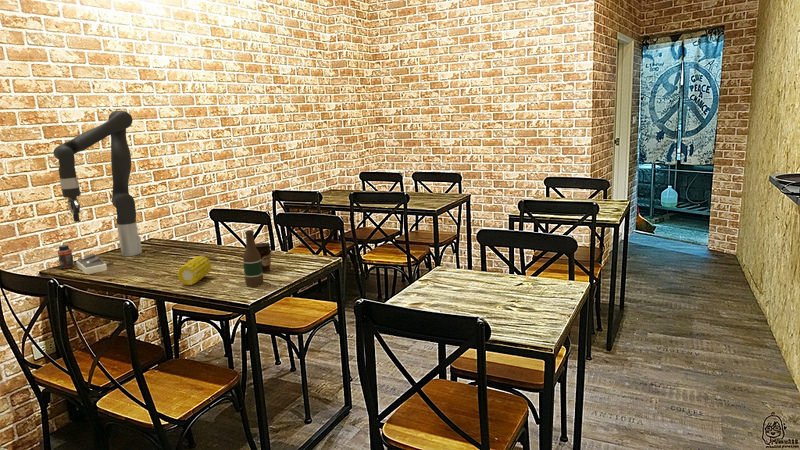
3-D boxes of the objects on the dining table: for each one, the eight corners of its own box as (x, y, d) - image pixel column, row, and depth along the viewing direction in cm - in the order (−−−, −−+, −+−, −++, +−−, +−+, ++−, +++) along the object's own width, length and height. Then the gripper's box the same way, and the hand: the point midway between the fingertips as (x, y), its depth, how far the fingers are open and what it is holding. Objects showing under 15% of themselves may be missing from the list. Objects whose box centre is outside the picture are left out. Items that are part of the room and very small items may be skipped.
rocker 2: (98, 258, 261) (97, 256, 260) (101, 260, 258) (99, 257, 257) (86, 264, 258) (84, 262, 257) (88, 266, 254) (87, 264, 254)
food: (194, 287, 230) (191, 265, 227) (173, 285, 234) (170, 263, 232) (218, 276, 244) (215, 255, 241) (198, 274, 248) (195, 253, 245)
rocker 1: (93, 255, 267) (92, 253, 267) (96, 257, 264) (94, 254, 264) (80, 260, 264) (79, 258, 263) (83, 262, 261) (82, 259, 260)
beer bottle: (247, 281, 236) (241, 229, 230) (265, 280, 236) (260, 228, 231) (243, 287, 228) (238, 233, 223) (262, 286, 229) (256, 232, 223)
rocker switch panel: (107, 260, 274) (106, 252, 273) (118, 267, 261) (116, 258, 260) (77, 266, 265) (75, 258, 264) (86, 274, 252) (84, 265, 251)
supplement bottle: (77, 265, 267) (73, 243, 265) (69, 269, 262) (64, 247, 259) (66, 265, 268) (62, 243, 265) (57, 269, 262) (53, 247, 260)
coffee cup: (277, 269, 252) (274, 242, 249) (267, 274, 244) (264, 247, 241) (261, 267, 255) (258, 241, 252) (251, 273, 247) (248, 246, 244)
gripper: (82, 187, 257) (89, 221, 261) (75, 184, 266) (81, 218, 270) (65, 189, 252) (72, 224, 256) (57, 186, 261) (64, 221, 265)
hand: (77, 221), depth 263 cm, fingers closed
